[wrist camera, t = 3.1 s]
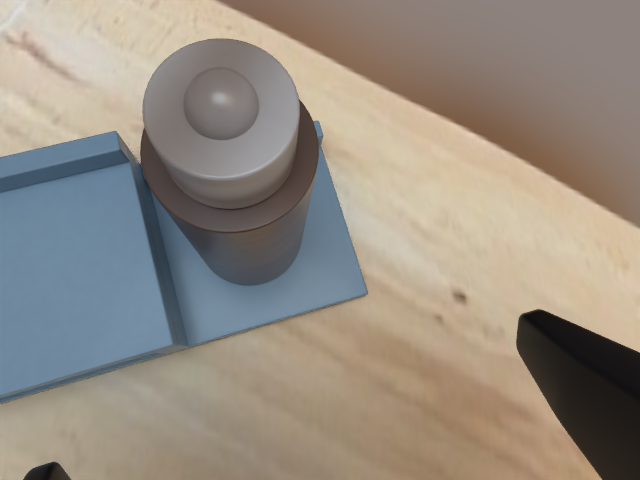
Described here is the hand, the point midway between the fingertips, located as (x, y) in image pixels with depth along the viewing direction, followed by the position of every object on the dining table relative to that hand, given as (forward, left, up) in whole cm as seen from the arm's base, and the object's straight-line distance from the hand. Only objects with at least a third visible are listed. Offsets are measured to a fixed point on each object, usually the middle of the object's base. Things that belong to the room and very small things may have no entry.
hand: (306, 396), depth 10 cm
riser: (+8, -1, -13) cm, 15 cm away
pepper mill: (+5, -4, -12) cm, 14 cm away
